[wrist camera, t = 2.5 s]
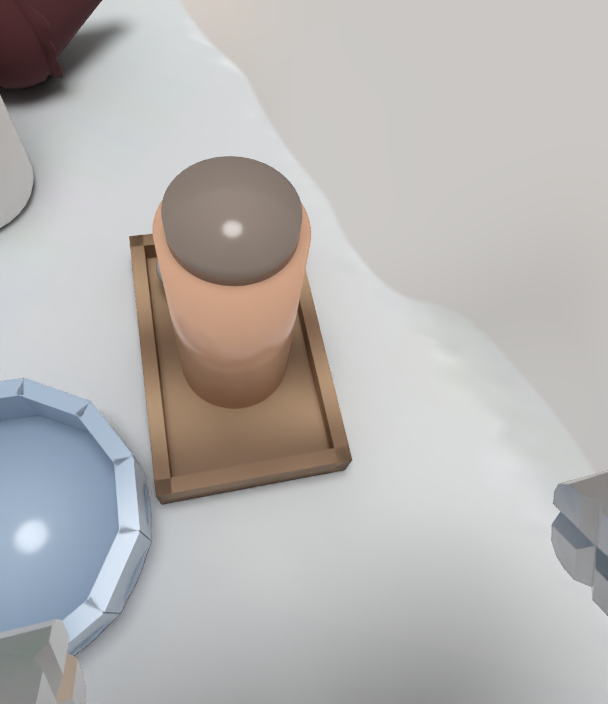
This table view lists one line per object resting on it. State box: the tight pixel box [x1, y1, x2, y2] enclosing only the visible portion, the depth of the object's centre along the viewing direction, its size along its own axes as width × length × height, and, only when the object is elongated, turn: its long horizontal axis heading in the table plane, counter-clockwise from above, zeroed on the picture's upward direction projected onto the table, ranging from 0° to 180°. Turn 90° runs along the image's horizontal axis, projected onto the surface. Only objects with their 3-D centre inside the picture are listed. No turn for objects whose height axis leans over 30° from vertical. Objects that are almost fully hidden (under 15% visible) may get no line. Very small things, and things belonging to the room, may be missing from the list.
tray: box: [129, 234, 352, 504], centre depth 30 cm, size 14×9×2 cm, turn 12°
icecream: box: [0, 0, 102, 89], centre depth 35 cm, size 7×7×15 cm
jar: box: [153, 156, 311, 409], centre depth 24 cm, size 5×5×12 cm
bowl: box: [0, 378, 152, 656], centre depth 24 cm, size 12×12×4 cm
